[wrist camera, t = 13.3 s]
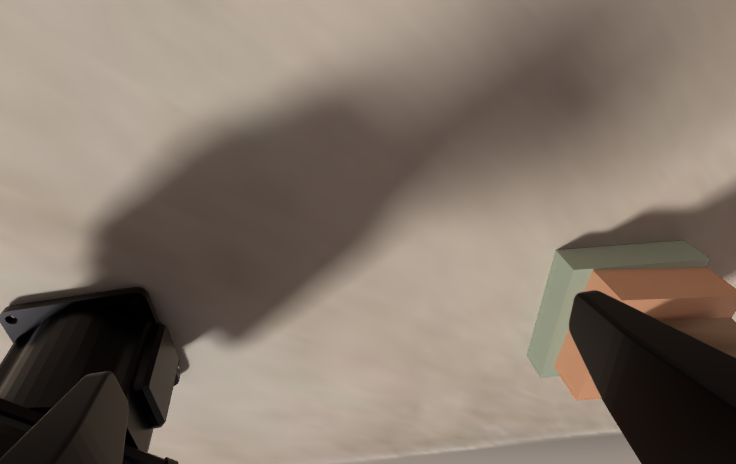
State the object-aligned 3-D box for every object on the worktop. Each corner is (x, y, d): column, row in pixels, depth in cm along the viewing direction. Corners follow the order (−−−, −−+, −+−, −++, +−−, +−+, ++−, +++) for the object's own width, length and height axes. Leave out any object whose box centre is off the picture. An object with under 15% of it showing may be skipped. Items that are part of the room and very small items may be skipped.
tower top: (553, 366, 28) (575, 400, 26) (592, 269, 25) (621, 300, 23) (656, 359, 30) (685, 391, 28) (707, 267, 26) (745, 295, 24)
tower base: (522, 348, 31) (540, 378, 29) (550, 243, 27) (573, 269, 25) (634, 336, 32) (659, 364, 30) (677, 234, 28) (710, 258, 26)
